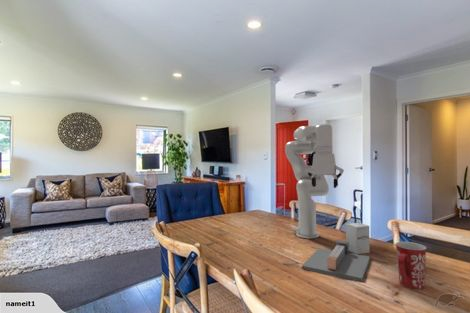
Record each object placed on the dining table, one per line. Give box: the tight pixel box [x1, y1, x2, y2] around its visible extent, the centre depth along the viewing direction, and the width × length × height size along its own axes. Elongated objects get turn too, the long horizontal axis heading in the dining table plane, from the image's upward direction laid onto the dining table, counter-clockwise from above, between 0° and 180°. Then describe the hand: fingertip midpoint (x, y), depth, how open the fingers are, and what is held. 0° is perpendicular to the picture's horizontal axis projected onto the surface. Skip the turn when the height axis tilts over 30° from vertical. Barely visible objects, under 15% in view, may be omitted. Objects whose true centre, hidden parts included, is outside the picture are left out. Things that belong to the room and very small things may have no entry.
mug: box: [395, 241, 427, 290], centre depth 93 cm, size 13×9×14 cm
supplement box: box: [345, 222, 370, 255], centre depth 126 cm, size 7×7×13 cm
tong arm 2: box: [332, 246, 345, 270], centre depth 110 cm, size 2×18×4 cm, turn 147°
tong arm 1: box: [327, 244, 341, 269], centre depth 111 cm, size 2×18×4 cm, turn 148°
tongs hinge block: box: [335, 239, 350, 255], centre depth 121 cm, size 5×3×5 cm, turn 57°
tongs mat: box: [301, 247, 371, 282], centre depth 112 cm, size 22×24×1 cm
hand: (324, 187), depth 127 cm, fingers open, 9 cm apart
